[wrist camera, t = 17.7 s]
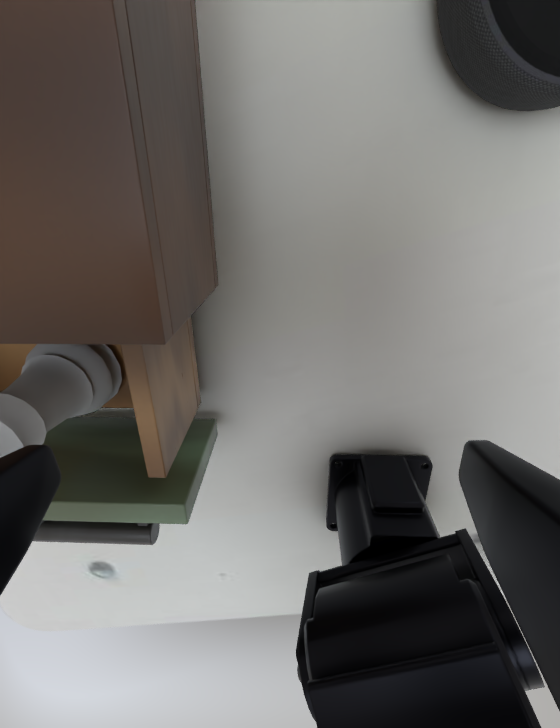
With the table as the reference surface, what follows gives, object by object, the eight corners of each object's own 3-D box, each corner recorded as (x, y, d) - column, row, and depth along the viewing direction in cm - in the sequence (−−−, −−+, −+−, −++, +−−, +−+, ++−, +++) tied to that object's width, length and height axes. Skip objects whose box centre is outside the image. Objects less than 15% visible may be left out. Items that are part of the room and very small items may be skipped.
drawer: (223, 492, 24) (199, 592, 18) (31, 487, 25) (-57, 583, 19) (191, 169, 16) (127, 152, 10) (-92, 173, 17) (-317, 160, 11)
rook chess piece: (135, 397, 20) (45, 510, 13) (61, 404, 21) (-68, 517, 13) (110, 321, 18) (-12, 403, 11) (29, 330, 19) (-141, 414, 11)
